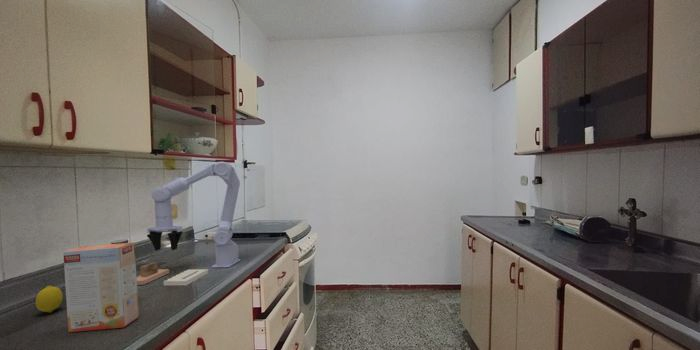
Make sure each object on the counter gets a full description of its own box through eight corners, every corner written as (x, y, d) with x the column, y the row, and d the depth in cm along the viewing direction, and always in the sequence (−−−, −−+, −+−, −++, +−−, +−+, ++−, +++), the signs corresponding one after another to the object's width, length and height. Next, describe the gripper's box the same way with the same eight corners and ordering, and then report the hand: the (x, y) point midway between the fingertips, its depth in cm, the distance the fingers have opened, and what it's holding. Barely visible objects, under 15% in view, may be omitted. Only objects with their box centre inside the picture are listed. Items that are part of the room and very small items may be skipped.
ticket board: (187, 273, 112) (187, 269, 112) (208, 273, 111) (208, 269, 111) (163, 285, 101) (163, 280, 101) (186, 285, 99) (186, 280, 99)
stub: (155, 273, 115) (154, 259, 115) (169, 272, 114) (168, 259, 114) (128, 284, 103) (127, 269, 103) (143, 284, 102) (142, 269, 102)
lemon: (60, 306, 88) (58, 281, 87) (66, 310, 85) (64, 283, 85) (34, 314, 83) (32, 287, 83) (39, 319, 80) (37, 291, 80)
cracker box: (140, 316, 77) (135, 241, 77) (123, 328, 71) (118, 247, 71) (88, 320, 77) (83, 244, 77) (67, 333, 71) (61, 250, 71)
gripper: (139, 218, 112) (141, 252, 112) (172, 217, 110) (174, 252, 110) (154, 216, 119) (156, 248, 119) (185, 214, 117) (187, 247, 117)
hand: (166, 249), depth 115 cm, fingers open, 7 cm apart
